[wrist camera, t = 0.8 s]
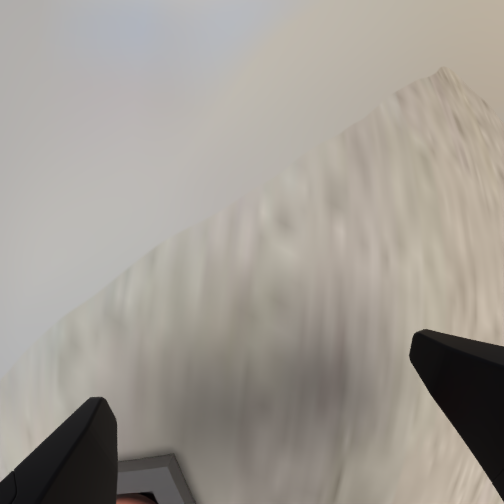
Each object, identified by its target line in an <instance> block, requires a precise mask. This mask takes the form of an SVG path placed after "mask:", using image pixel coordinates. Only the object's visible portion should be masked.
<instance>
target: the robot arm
mask: <svg viewBox="0 0 504 504" xmlns="http://www.w3.org/2000/svg"><path fill="white" fill-rule="evenodd" d="M409 357H410V361H411V363H412V364H413V366H414V368H415V369H416V371H417V373H418V374H419V376H420V378H421V379H422V381H423V383H424V384H425V386H426V388H427V389H428V391H429V393H430V394H431V396H432V397H433V399H434V400H435V401H436V403H437V404H438V406H439V407H440V408H441V410H442V411H443V412H444V414H445V415H446V416H447V418H448V419H449V421H450V422H451V423H452V425H453V426H454V428H455V429H456V430H457V432H458V433H459V435H460V436H461V437H462V439H463V440H464V442H465V443H466V445H467V446H468V447H469V449H470V450H471V452H472V453H473V455H474V456H475V458H476V459H477V461H478V462H479V464H480V465H481V467H482V468H483V470H484V471H485V473H486V474H487V476H488V477H489V479H490V480H491V482H492V484H493V485H494V487H495V489H496V490H497V492H498V493H499V495H500V497H501V498H502V500H503V501H504V346H499V345H494V344H489V343H485V342H480V341H476V340H471V339H467V338H462V337H458V336H453V335H449V334H445V333H440V332H436V331H432V330H428V329H423V330H421V331H418V332H416V333H415V334H414V335H413V338H412V344H411V349H410V354H409ZM117 481H118V452H117V421H116V418H115V416H114V414H113V412H112V410H111V408H110V406H109V405H108V403H107V401H106V399H105V398H103V397H91V398H89V399H88V400H87V401H86V402H85V403H83V404H82V405H81V406H80V407H79V408H78V409H77V410H76V411H75V412H74V413H73V414H72V415H71V416H70V417H69V418H68V419H67V420H65V421H64V422H63V423H62V424H61V425H60V426H59V427H58V428H57V429H56V430H55V431H54V432H53V433H52V434H51V435H50V436H49V437H48V438H46V439H45V440H44V441H43V442H42V443H41V444H40V445H39V446H38V447H37V448H36V449H35V450H34V451H33V452H32V453H31V454H30V455H29V456H28V457H26V458H25V459H24V460H23V461H22V462H21V463H20V464H19V465H18V466H17V467H16V468H15V469H14V471H12V472H11V473H10V474H9V475H7V476H6V477H5V478H4V479H3V480H2V481H1V482H0V504H116V500H117Z"/></svg>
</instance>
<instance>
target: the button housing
mask: <svg viewBox="0 0 504 504" xmlns="http://www.w3.org/2000/svg"><path fill="white" fill-rule="evenodd" d="M126 493H137V494H141V495H143V496H146V497H148V498H149V499H151V500H153V501H154V502H155V503H156V504H196V503H195V501H194V499H193V497H192V495H191V493H190V491H189V488H188V486H187V484H186V482H185V479H184V477H183V475H182V473H181V470H180V468H179V466H178V463H177V461H176V458H175V456H174V454H170V455H164V456H158V457H151V458H144V459H136V460H128V461H118V481H117V495H118V494H126Z"/></svg>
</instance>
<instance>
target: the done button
mask: <svg viewBox="0 0 504 504" xmlns="http://www.w3.org/2000/svg"><path fill="white" fill-rule="evenodd" d="M116 504H156V503H155V502H154V501H153V500H151V499H149V498H148V497H146V496H143V495H141V494H137V493H126V494H118V495H117V500H116Z"/></svg>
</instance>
